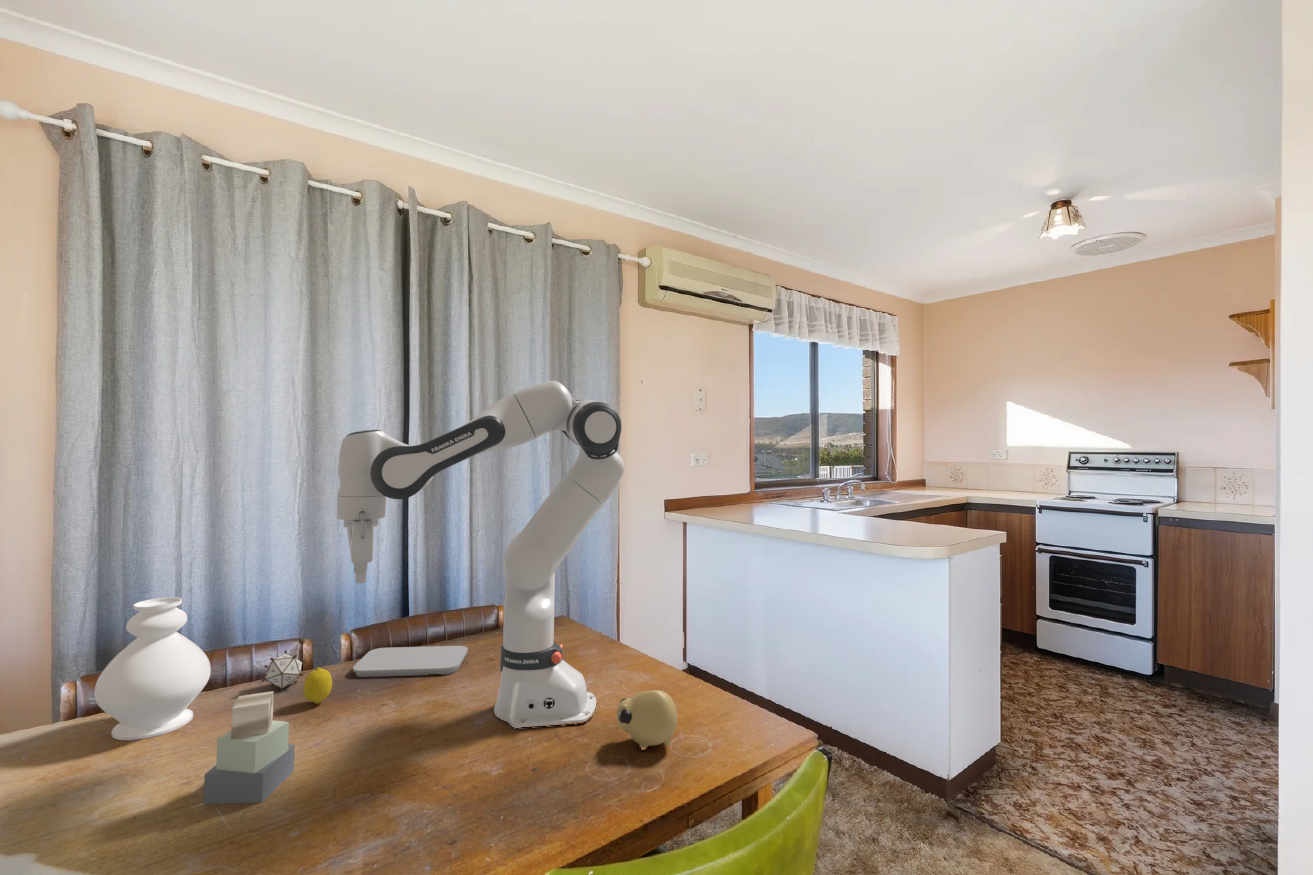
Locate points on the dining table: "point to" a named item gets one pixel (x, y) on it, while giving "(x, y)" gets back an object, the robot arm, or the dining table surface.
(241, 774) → the charcoal base block
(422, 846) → the dining table surface
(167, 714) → the decorative vase
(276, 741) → the sage top block
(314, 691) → the lemon
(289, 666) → the game die
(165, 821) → the dining table surface
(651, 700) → the toy pig
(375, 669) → the tablet
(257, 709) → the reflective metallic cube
